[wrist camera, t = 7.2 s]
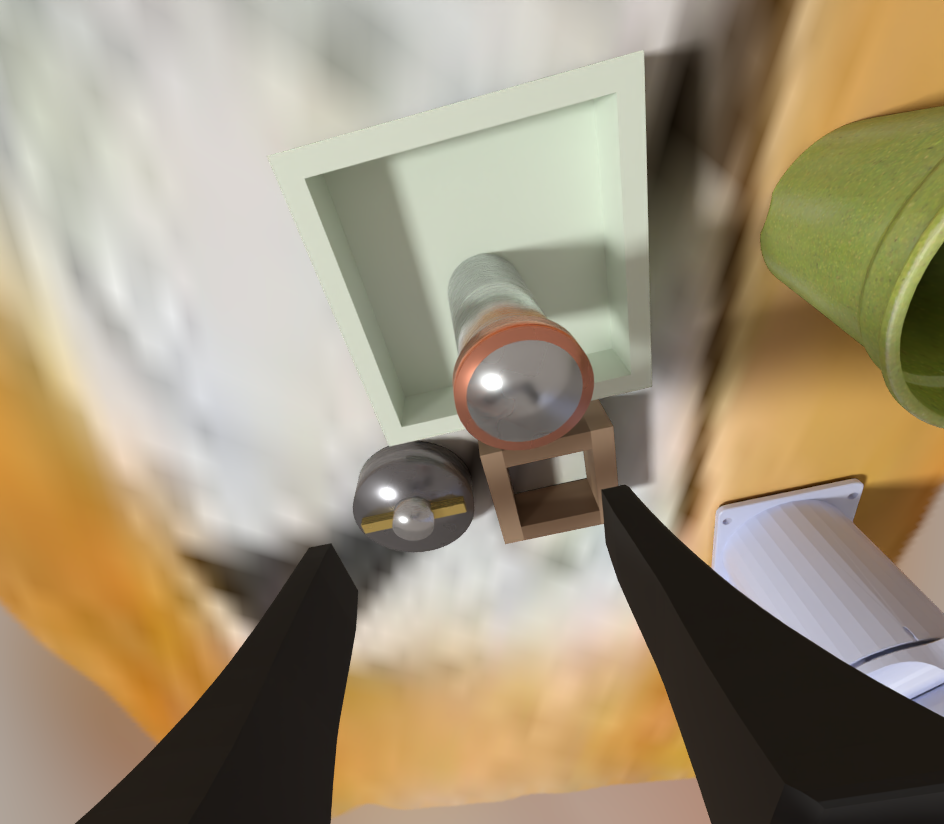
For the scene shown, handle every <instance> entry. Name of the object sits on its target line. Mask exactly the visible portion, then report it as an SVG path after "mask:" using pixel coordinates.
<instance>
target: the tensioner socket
mask: <svg viewBox="0 0 944 824" xmlns="http://www.w3.org/2000/svg"><path fill="white" fill-rule="evenodd" d="M478 444H479V453H480V458H481V462H482V465H483V469H484V472H485V475H486V479H487V482H488V486H489V489H490V493H491V496H492V500H493V503H494V507H495V510H496V514H497V517H498V520H499V524H500V527H501V531H502V534H503V538H504V541H505V544H508V543H513V542H518V541H523V540H527V539H532V538H537V537H542V536H547V535H552V534H556V533H561V532H566V531H571V530H576V529H581V528H586V527H590V526H595V525H600V524H604V517H603V506H602V495H601V489H606V488H611V487H616V486H618V478H617V465H616V453H615V441H614V428H613V425H612V423H611V421H610V419H609V418H608V416H607V414H606V412H605V410H604V408H603V407H602V405H601V403H600V401H599V399H597V400H592V401H590V404H589V406H588V408H587V410H586V412H585V414H584V415H583V417H582V418H581V419H580V421H579V422H578V423H577V424H576V425H575V426H574V427H573V428H572V429H571V430H570V431H569V432H567V433H566V434H565V435H563V436H562V437H560V438H559V439H557V440H555V441H553V442H551V443H549V444H547V445H544V446H541V447H538V448H533V449H529V450H513V451H512V450H503V449H499V448H495V447H492V446H489V445H487V444H485V443H483V442H481V441H479V440H478ZM580 451H583V452H584V460H585V467H586V475H587V479H583V480H578V481H573V482H569V483H564V484H559V485H555V486H550V487H545V488H541V489H536V490H531V491H527V492H522V493H517V494H514V490H513V486H512V482H511V478H510V474H509V470H508V467H512V466H516V465H521V464H526V463H530V462H535V461H539V460H544V459H548V458H553V457H557V456H562V455H567V454H571V453H576V452H580Z"/></svg>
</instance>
